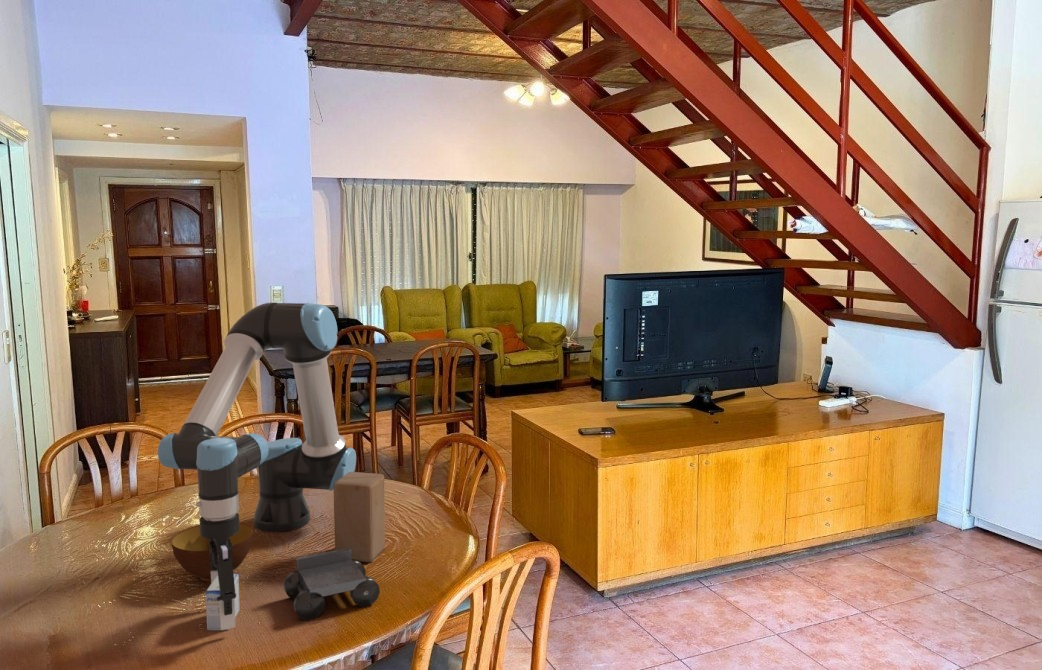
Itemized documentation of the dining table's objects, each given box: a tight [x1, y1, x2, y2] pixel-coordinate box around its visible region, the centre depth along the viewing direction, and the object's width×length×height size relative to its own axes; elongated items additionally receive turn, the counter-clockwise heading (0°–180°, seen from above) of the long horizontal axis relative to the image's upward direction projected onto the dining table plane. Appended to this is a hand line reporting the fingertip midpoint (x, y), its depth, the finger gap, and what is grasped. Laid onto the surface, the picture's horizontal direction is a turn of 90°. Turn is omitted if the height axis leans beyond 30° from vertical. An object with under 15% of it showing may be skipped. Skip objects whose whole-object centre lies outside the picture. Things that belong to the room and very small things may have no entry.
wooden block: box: [333, 471, 386, 563], centre depth 188 cm, size 10×10×20 cm
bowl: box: [171, 521, 254, 583], centre depth 175 cm, size 18×18×10 cm
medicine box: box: [205, 573, 240, 631], centre depth 155 cm, size 8×4×9 cm, turn 5°
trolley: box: [283, 547, 381, 621], centre depth 164 cm, size 12×18×9 cm, turn 119°
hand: (223, 613), depth 155 cm, fingers open, 13 cm apart
